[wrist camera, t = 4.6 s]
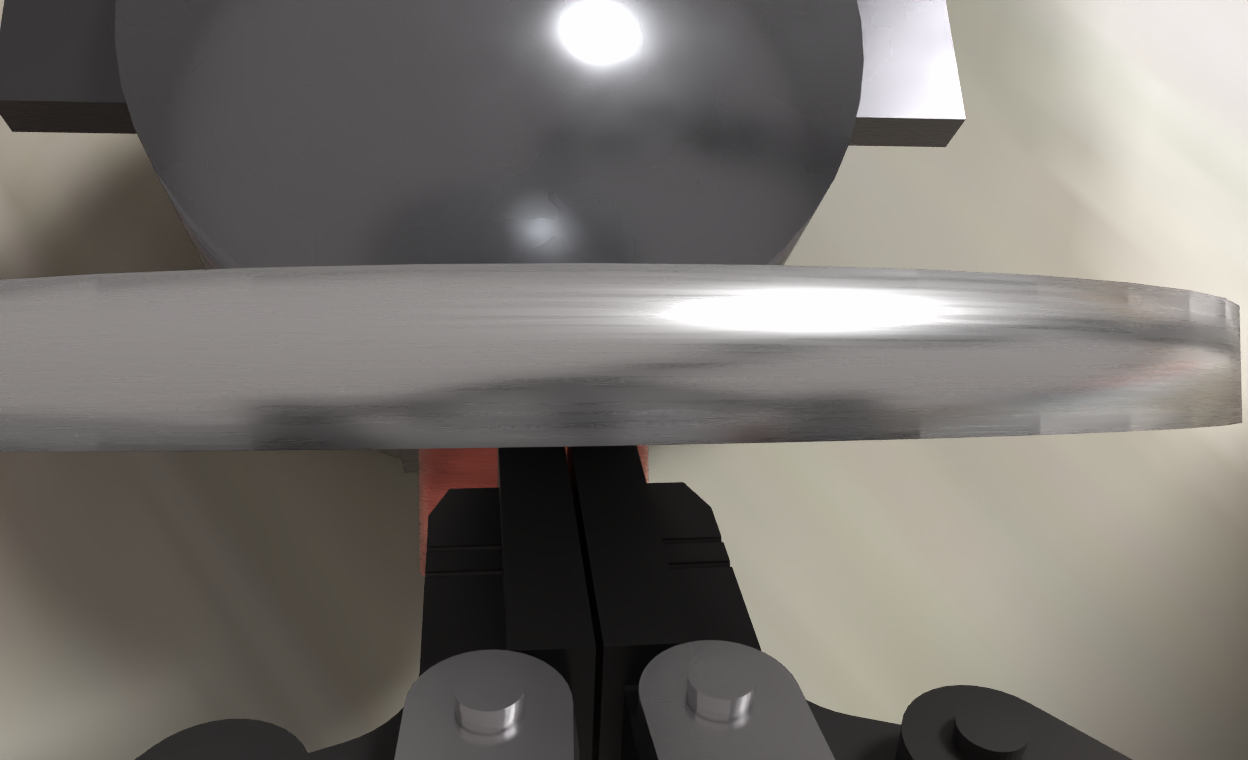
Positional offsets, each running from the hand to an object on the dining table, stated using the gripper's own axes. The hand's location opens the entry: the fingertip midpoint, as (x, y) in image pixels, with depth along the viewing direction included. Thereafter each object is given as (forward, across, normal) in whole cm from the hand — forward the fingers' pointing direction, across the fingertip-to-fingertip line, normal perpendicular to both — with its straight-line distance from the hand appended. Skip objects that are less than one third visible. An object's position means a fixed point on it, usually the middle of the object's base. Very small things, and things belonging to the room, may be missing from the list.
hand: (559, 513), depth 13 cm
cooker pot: (+26, 0, +4) cm, 26 cm away
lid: (+4, 0, 0) cm, 4 cm away
